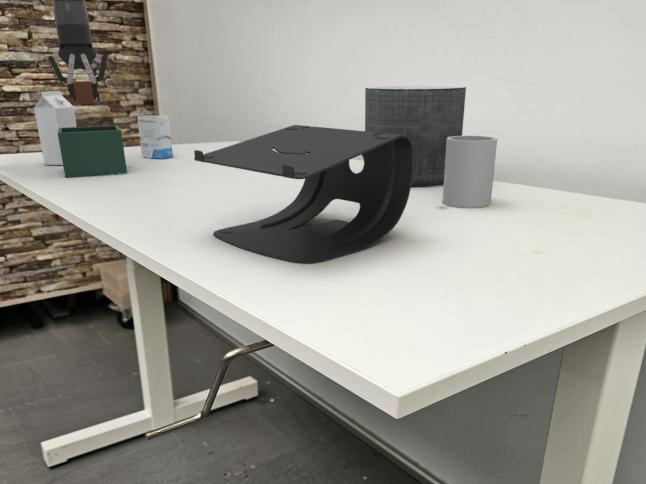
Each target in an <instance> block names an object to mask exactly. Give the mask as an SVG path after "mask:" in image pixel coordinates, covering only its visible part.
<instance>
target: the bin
mask: <svg viewBox="0 0 646 484" xmlns="http://www.w3.org/2000/svg"><path fill="white" fill-rule="evenodd" d="M58 139H59V145H60V150H61V156H62V162H63V165H62V166H63V171H64V172H63V173H64V178H65V179H66V178H67V179H69V178H83V177H97V176H99V175H100V176H111V175H110V174H115V175H119V174H118V173H127V174H128V169H127V162H126V154H125V147H124V140H123V139H124V138H123V133H122V129H121V128H120V127H119V126H118V125H98V126H77V127H69V128H59V130H58Z"/></svg>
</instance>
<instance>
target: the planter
mask: <svg viewBox="0 0 646 484" xmlns="http://www.w3.org/2000/svg"><path fill="white" fill-rule="evenodd" d="M364 90H365V91H364V93H365V95H364V131H367V132H378V133H382V134H384V133H388V134H399V135H406V136H407V137H408V138H409V139H410V140H411V142H412V146H413V176H412V184H411V187H433V186H434V187H435V186H442V185H443V186H444V172H445V158H446V143H447V137H452V136H463V130H464V120H465V119H464V117H465V106H466V105H465V104H466V95H467V94H466V93H467V92H466V91H467V86H462V85H438V84H437V85H436V84H435V85H428V84H427V85H424V84H423V85H421V84H419V85H415V84H413V85H379V86H377V85H376V86H367V87H365V89H364Z"/></svg>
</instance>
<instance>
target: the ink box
mask: <svg viewBox="0 0 646 484" xmlns="http://www.w3.org/2000/svg"><path fill="white" fill-rule="evenodd" d="M136 118H137V127H138V133H139V142H140V151H141V152H140V153H141V158H144V157H147V158H146V159H156V158H157V159H158V160H164V159H169V158H174V155H173V153H174V152H173V144H172V135H171V134H172V133H171V124H170V116H168V115H138V116H137V117H136ZM157 159H156V160H157Z"/></svg>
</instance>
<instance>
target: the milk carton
mask: <svg viewBox="0 0 646 484" xmlns="http://www.w3.org/2000/svg"><path fill="white" fill-rule="evenodd" d="M40 93H41V96H40V98H39V100H38V101H37V103H36V104H35V106H34V107H33V111H34V115H35V116H34V117H35V120H36V126H37V132H38V136H39V137H38V138H39V141H40V142H39V143H40V148H41V153H42V157H43V163H44V165H47V166H63V162H62V156H61V150H60V145H59V139H58V130H59V128H69V127H78V126H77V121H76V114H75V109H74V108H75V107H74V105H73V104H71V103H70V102H69V101H68V100H67V99H66V98H65V97H64V96H63V95H62V91H61V90H51V91H40Z"/></svg>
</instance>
